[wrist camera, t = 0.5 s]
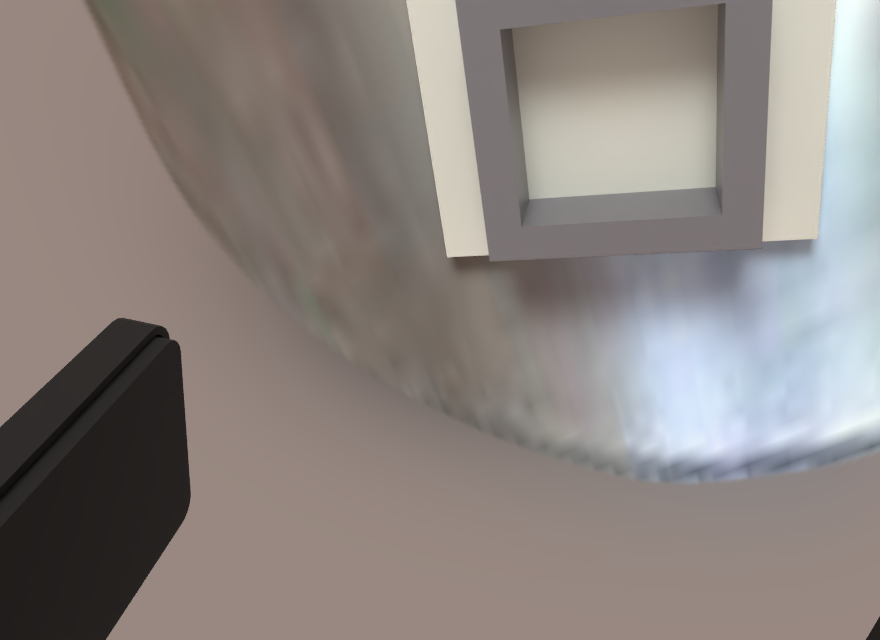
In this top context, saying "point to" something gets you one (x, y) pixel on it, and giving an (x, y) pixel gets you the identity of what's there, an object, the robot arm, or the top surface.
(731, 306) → the top surface
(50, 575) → the robot arm
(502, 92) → the socket board
